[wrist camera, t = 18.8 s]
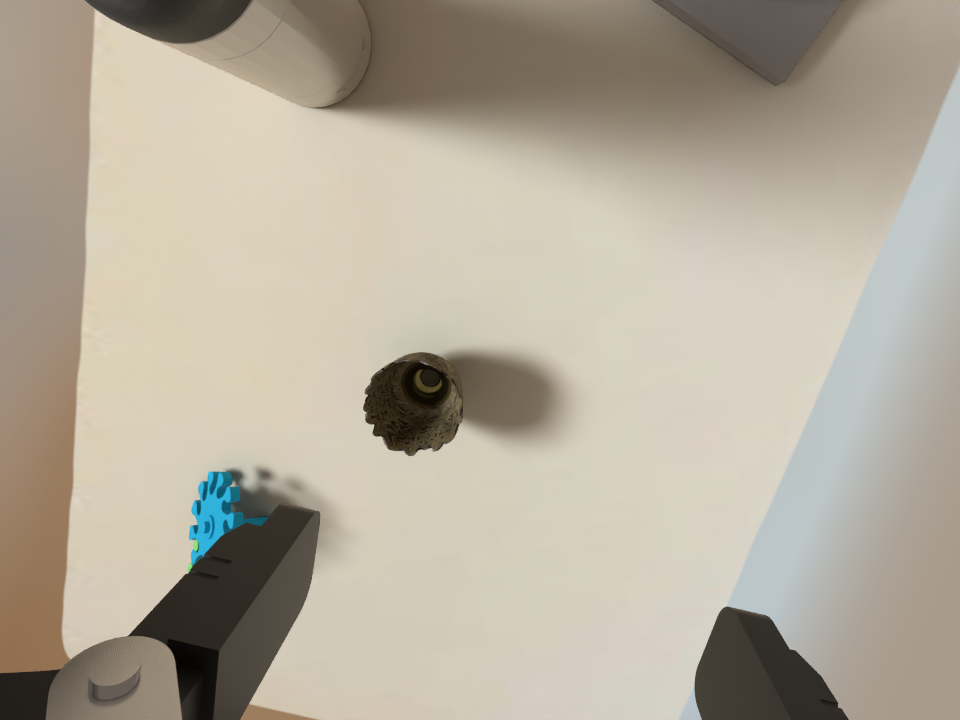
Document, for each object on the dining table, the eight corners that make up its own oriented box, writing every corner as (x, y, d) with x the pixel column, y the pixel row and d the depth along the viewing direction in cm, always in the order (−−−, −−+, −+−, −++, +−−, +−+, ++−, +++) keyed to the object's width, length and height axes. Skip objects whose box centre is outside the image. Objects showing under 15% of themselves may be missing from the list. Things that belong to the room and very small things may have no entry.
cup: (463, 329, 46) (451, 353, 39) (480, 410, 48) (471, 448, 41) (379, 343, 47) (351, 369, 40) (398, 422, 49) (375, 461, 42)
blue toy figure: (212, 447, 50) (235, 541, 44) (274, 448, 54) (303, 534, 48) (172, 523, 54) (189, 618, 48) (233, 518, 58) (255, 605, 52)
